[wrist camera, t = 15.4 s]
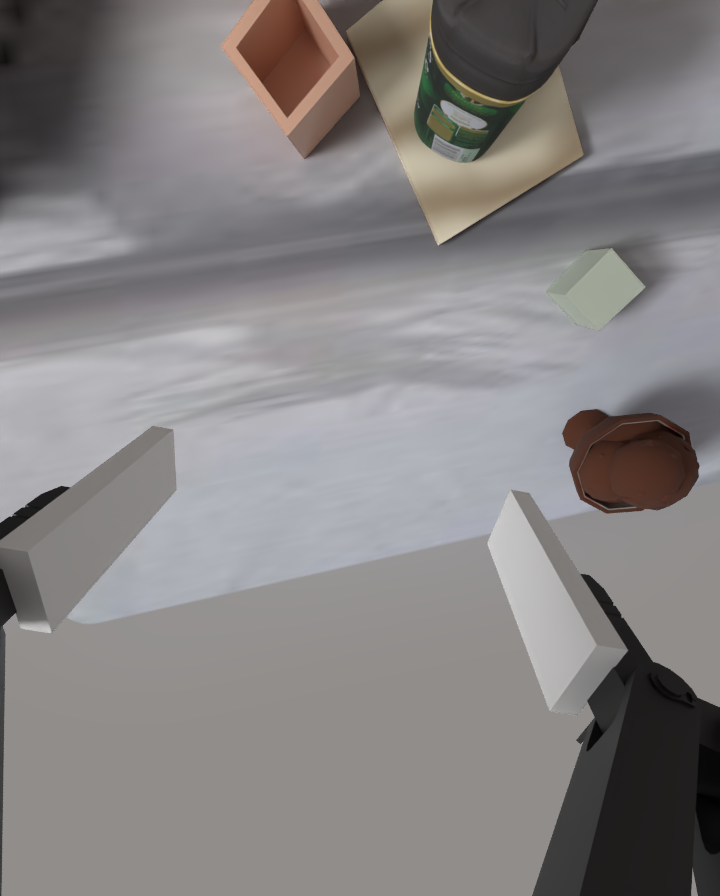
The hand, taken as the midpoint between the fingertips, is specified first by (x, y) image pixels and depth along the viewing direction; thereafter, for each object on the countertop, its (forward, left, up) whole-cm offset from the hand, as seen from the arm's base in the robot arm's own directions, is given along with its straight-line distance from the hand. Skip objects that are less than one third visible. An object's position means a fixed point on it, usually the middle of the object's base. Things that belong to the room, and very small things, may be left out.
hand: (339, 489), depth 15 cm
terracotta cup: (-22, +6, -31) cm, 39 cm away
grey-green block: (+6, +22, -31) cm, 39 cm away
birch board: (-14, +18, -31) cm, 39 cm away
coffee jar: (-14, +17, -30) cm, 38 cm away
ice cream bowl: (+22, +18, -32) cm, 42 cm away
